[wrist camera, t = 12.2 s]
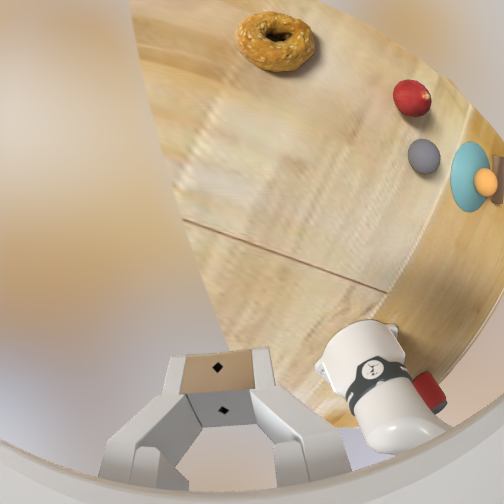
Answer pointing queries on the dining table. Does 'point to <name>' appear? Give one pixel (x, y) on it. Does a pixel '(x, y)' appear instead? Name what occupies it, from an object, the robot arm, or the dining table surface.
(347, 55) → the dining table surface
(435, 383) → the beer can
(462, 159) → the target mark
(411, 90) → the onion
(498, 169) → the wall
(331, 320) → the dining table surface
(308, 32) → the bagel
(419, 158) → the grey rubber ball
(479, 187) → the orange ball
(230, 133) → the dining table surface
